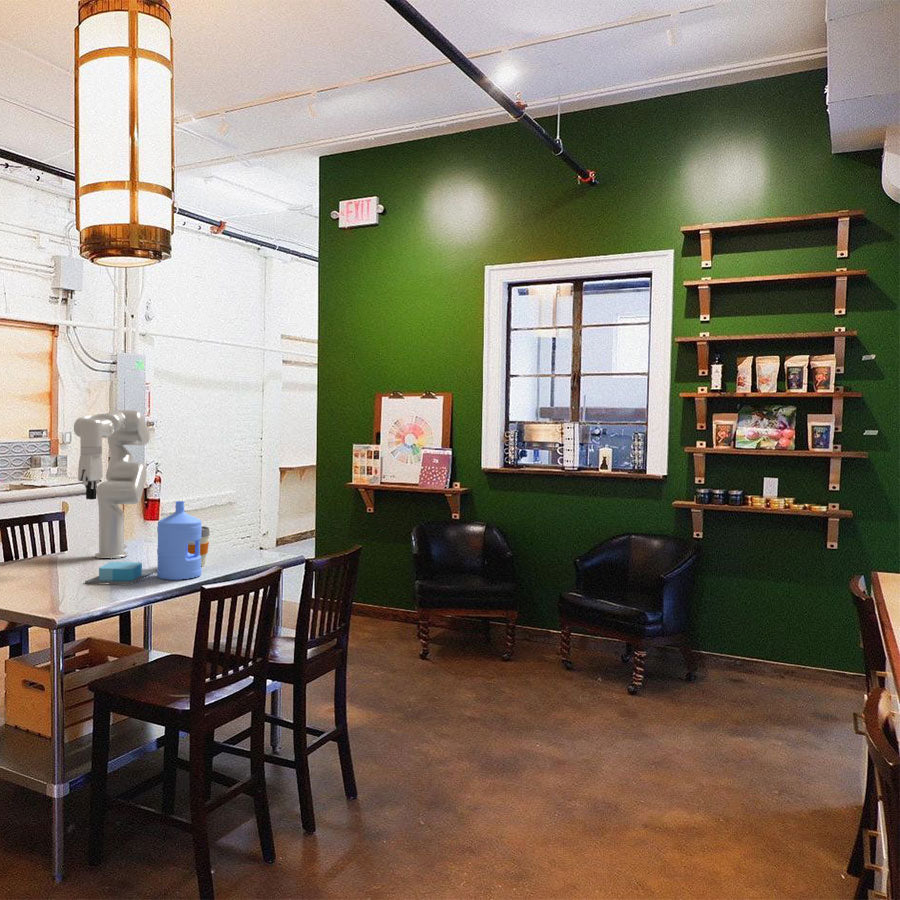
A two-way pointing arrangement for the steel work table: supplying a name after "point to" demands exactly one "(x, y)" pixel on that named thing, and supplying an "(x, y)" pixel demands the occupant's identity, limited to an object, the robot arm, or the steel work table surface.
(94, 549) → the steel work table surface
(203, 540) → the reusable coffee cup
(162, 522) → the water jug
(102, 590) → the steel work table surface
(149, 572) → the mat
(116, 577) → the data package
